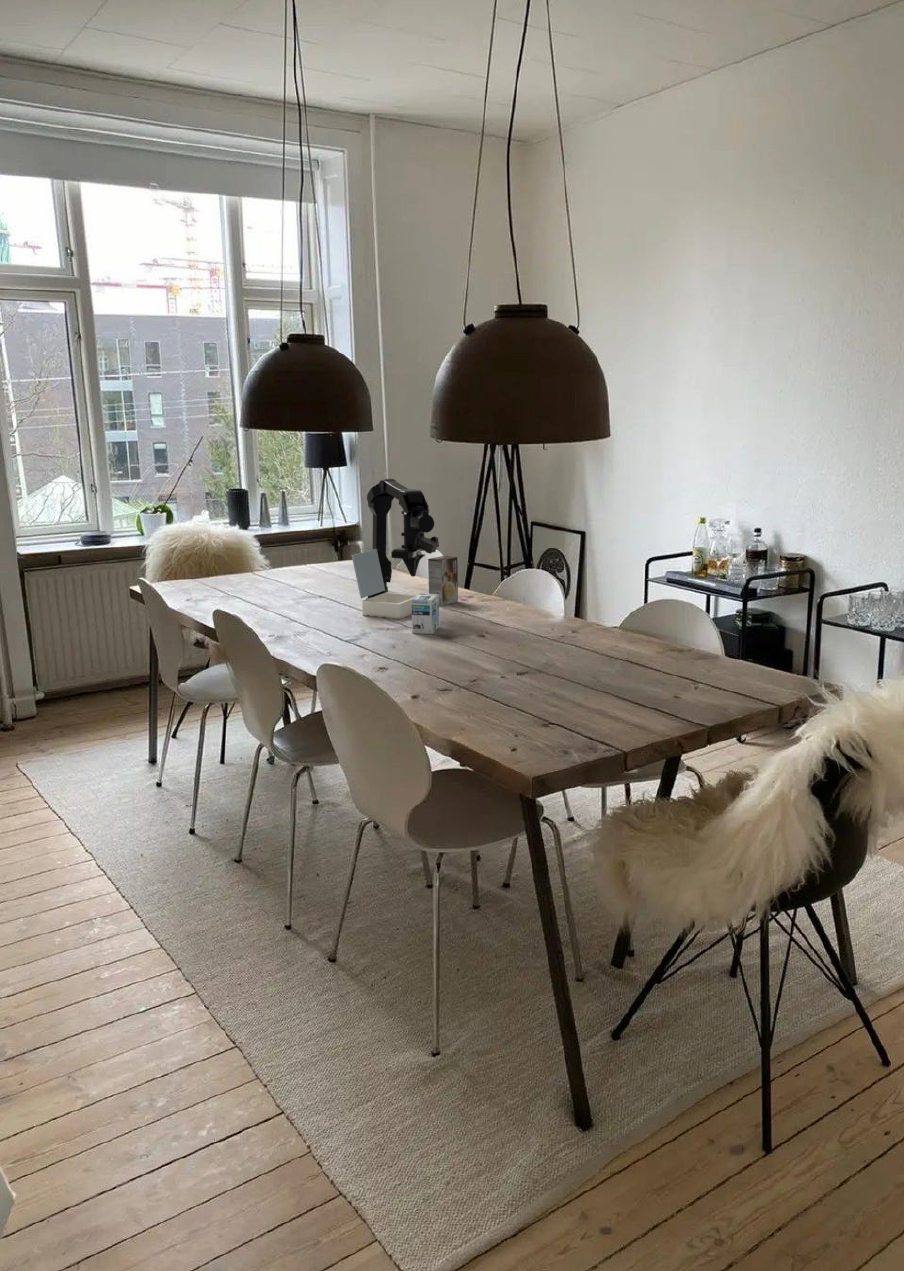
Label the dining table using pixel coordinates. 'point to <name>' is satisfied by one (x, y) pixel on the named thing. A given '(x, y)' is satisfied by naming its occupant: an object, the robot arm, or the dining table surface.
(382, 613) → the open box
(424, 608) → the light bulb box
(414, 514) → the robot arm
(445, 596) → the coffee box
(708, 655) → the dining table surface
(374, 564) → the lid flap
